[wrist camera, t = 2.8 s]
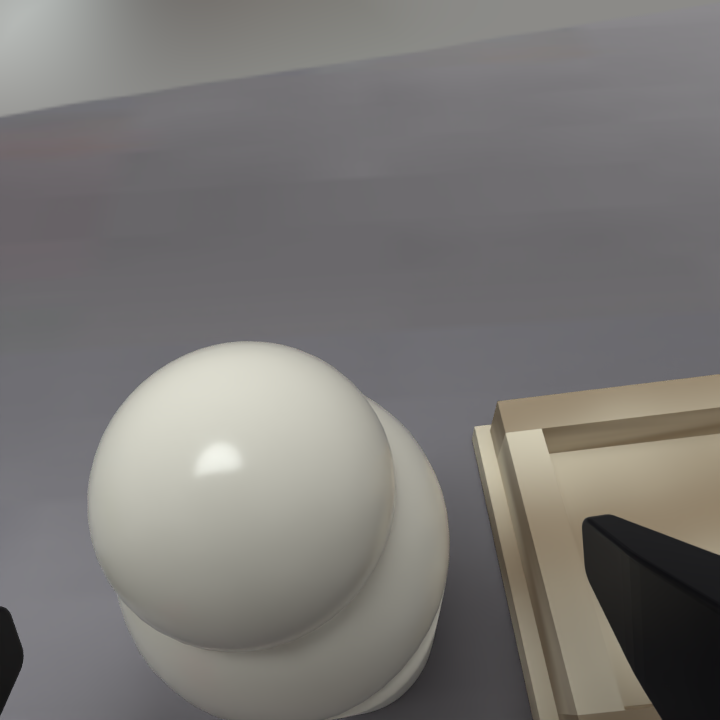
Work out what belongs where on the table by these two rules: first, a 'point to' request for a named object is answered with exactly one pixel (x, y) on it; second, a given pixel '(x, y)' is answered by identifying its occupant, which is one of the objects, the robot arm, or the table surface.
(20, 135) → the table surface
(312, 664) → the white pawn figure
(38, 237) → the table surface
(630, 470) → the divided wooden tray
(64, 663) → the table surface
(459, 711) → the table surface
